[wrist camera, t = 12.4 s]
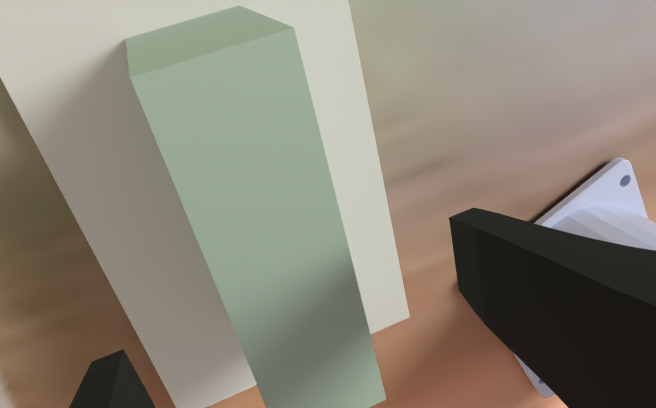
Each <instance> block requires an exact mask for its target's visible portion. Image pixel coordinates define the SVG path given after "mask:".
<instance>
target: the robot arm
mask: <svg viewBox="0 0 656 408" xmlns="http://www.w3.org/2000/svg"><path fill="white" fill-rule="evenodd" d="M449 220H450V227H451V235H452V242H453V250H454V257H455V265H456V272H457V280H458V287H459V291H460V292H461V294H462V295H463V296H464V298H465V299H466V300H467V302H468V303H469V304H470V306H471V307H472V308H473V310H474V311H475V312H476V313H477V315H478V316H479V317H480V318H481V320H482V321H483V322H484V323H485V325H486V326H487V327H488V328H489V329H490V330H491V331H492V332H493V333H494V334H495V335H496V336H497V337H498V338H499V339H500V340H501V341H502V342H503V343H504V344H505V345H506V346H507V347H508V348H509V349H510V350H511V351H512V353H513V354H514V356H515V357H516V359H517V361H518V362H519V364H520V365H521V367H522V369H523V370H524V372H525V373H526V375H527V376H528V378H529V380H530V381H531V383H532V384H533V386H534V387H535V389H536V391H537V392H538V393H539V394H540V395H541V396H542V397H544V398H547V397H550V396H552V395H553V394H556V395H557V396H558V397H559V398H560V399H561V400H562V401H563V402H564V403H565V404H566V405H567V407H568V408H656V223H655V222H653V221H651V220H649V219H648V217H647V213H646V210H645V207H644V204H643V201H642V197H641V194H640V191H639V188H638V185H637V181H636V178H635V175H634V172H633V169H632V165H631V163H630V162H629V161H628V160H625V159H623V158H615V159H614V160H612V161H611V162H609V163H608V164H607V165H606V166H604V167H603V168H602V169H601V170H599V171H598V172H597V173H596V174H594V175H593V176H592V177H591V178H589V179H588V180H587V181H586V182H584V183H583V184H582V185H581V186H579V187H578V188H577V189H576V190H574V191H573V192H572V193H571V194H569V195H568V196H567V197H566V198H564V199H563V200H562V201H561V202H559V203H558V204H557V205H556V206H554V207H553V208H552V209H551V210H549V211H548V212H547V213H546V214H544V215H543V216H542V217H541V218H539V219H538V220H537V221H536V222H534V223H530V222H527V221H523V220H520V219H516V218H513V217H509V216H505V215H502V214H498V213H494V212H490V211H486V210H482V209H477V208H472V209H469V210H467V211H464V212H462V213H459V214H457V215H454V216H452V217H449ZM69 408H156V407H155V405H154V403H153V402H152V400H151V398H150V396H149V394H148V393H147V391H146V389H145V387H144V385H143V384H142V382H141V380H140V378H139V376H138V375H137V373H136V371H135V369H134V368H133V366H132V364H131V362H130V360H129V359H128V357H127V355H126V353H125V351H124V350H120V351H118V352H115V353H113V354H110V355H108V356H106V357H103V358H101V359H98V360H96V361H93V362H92V363H91V365H90V367H89V369H88V371H87V372H86V374H85V376H84V378H83V380H82V382H81V384H80V387H79V389H78V391H77V393H76V395H75V397H74V399H73V401H72V403H71V405H70V407H69Z"/></svg>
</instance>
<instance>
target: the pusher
mask: <svg viewBox="0 0 656 408" xmlns="http://www.w3.org/2000/svg"><path fill="white" fill-rule="evenodd" d="M125 43H126V51H127V58H128V66H129V74H130V79H131V82H132V84H133V86H134V89H135V91H136V94H137V96H138V98H139V101H140V103H141V106H142V108H143V111H144V113H145V115H146V118H147V120H148V123H149V125H150V127H151V130H152V132H153V135H154V137H155V140H156V142H157V144H158V147H159V149H160V152H161V154H162V156H163V159H164V161H165V164H166V166H167V169H168V171H169V173H170V176H171V178H172V181H173V183H174V185H175V188H176V190H177V193H178V195H179V198H180V200H181V202H182V205H183V207H184V210H185V212H186V214H187V217H188V219H189V222H190V224H191V226H192V229H193V231H194V234H195V236H196V239H197V241H198V243H199V246H200V248H201V251H202V253H203V255H204V258H205V260H206V263H207V265H208V268H209V270H210V272H211V275H212V277H213V280H214V282H215V284H216V287H217V289H218V292H219V294H220V297H221V299H222V301H223V304H224V306H225V309H226V311H227V313H228V316H229V318H230V321H231V323H232V326H233V328H234V330H235V333H236V335H237V338H238V340H239V342H240V345H241V347H242V350H243V352H244V355H245V357H246V359H247V362H248V364H249V367H250V369H251V371H252V374H253V376H254V379H255V381H256V383H257V386H258V388H259V391H260V393H261V396H262V398H263V400H264V403H265V405H266V408H370V407H372V406H374V405H376V404H378V403H380V402H382V401H384V400H386V395H385V391H384V387H383V383H382V379H381V375H380V371H379V367H378V363H377V359H376V355H375V351H374V347H373V343H372V339H371V335H370V331H369V327H368V323H367V319H366V315H365V311H364V307H363V303H362V299H361V295H360V291H359V287H358V283H357V278H356V274H355V270H354V266H353V262H352V258H351V254H350V250H349V246H348V242H347V238H346V234H345V230H344V226H343V222H342V218H341V214H340V210H339V206H338V202H337V198H336V194H335V190H334V186H333V182H332V178H331V174H330V170H329V166H328V162H327V158H326V154H325V150H324V146H323V142H322V138H321V134H320V130H319V126H318V122H317V118H316V114H315V110H314V106H313V102H312V98H311V94H310V90H309V86H308V82H307V78H306V74H305V70H304V66H303V62H302V58H301V54H300V50H299V46H298V42H297V38H296V34H295V30H294V27H291V26H289V25H287V24H284V23H282V22H279V21H277V20H274V19H272V18H269V17H267V16H264V15H262V14H259V13H257V12H255V11H252V10H250V9H247V8H245V7H242V6H240V5H238V6H235V7H231V8H228V9H224V10H221V11H218V12H214V13H211V14H207V15H204V16H201V17H197V18H194V19H190V20H187V21H183V22H180V23H177V24H173V25H170V26H166V27H163V28H160V29H156V30H153V31H149V32H146V33H142V34H139V35H136V36H132V37H129V38H125Z"/></svg>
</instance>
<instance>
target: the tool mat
mask: <svg viewBox="0 0 656 408" xmlns="http://www.w3.org/2000/svg"><path fill="white" fill-rule="evenodd" d="M238 5H240V6H242V7H245V8H247V9H250V10H252V11H255V12H257V13H259V14H262V15H264V16H267V17H269V18H272V19H274V20H277V21H279V22H282V23H284V24H287V25H289V26H291V27H294V30H295V34H296V38H297V42H298V46H299V50H300V54H301V58H302V62H303V66H304V70H305V74H306V78H307V82H308V86H309V90H310V94H311V98H312V102H313V106H314V110H315V114H316V118H317V122H318V126H319V130H320V134H321V138H322V142H323V146H324V150H325V154H326V158H327V162H328V166H329V170H330V174H331V178H332V182H333V186H334V190H335V194H336V198H337V202H338V206H339V210H340V214H341V218H342V222H343V226H344V230H345V234H346V238H347V242H348V246H349V250H350V254H351V258H352V262H353V266H354V270H355V274H356V278H357V283H358V287H359V291H360V295H361V299H362V303H363V307H364V311H365V315H366V319H367V323H368V327H369V331H370V334H373V333H375V332H377V331H379V330H382V329H384V328H386V327H388V326H391V325H393V324H395V323H397V322H400V321H402V320H404V319H406V318H409V317H410V316H409V311H408V306H407V301H406V296H405V291H404V285H403V280H402V275H401V270H400V265H399V260H398V255H397V249H396V244H395V239H394V234H393V229H392V224H391V219H390V213H389V208H388V203H387V198H386V193H385V188H384V183H383V177H382V172H381V167H380V162H379V157H378V152H377V146H376V141H375V136H374V131H373V126H372V121H371V116H370V110H369V105H368V100H367V95H366V90H365V85H364V80H363V74H362V69H361V64H360V59H359V54H358V49H357V43H356V38H355V33H354V28H353V23H352V18H351V13H350V7H349V2H348V0H0V78H1V80H2V82H3V83H4V85H5V87H6V89H7V91H8V93H9V95H10V97H11V98H12V100H13V102H14V104H15V106H16V108H17V110H18V112H19V114H20V115H21V117H22V119H23V121H24V123H25V125H26V127H27V129H28V130H29V132H30V134H31V136H32V138H33V140H34V142H35V144H36V145H37V147H38V149H39V151H40V153H41V155H42V157H43V159H44V160H45V162H46V164H47V166H48V168H49V170H50V172H51V174H52V175H53V177H54V179H55V181H56V183H57V185H58V187H59V189H60V190H61V192H62V194H63V196H64V198H65V200H66V202H67V204H68V206H69V207H70V209H71V211H72V213H73V215H74V217H75V219H76V221H77V222H78V224H79V226H80V228H81V230H82V232H83V234H84V236H85V237H86V239H87V241H88V243H89V245H90V247H91V249H92V251H93V252H94V254H95V256H96V258H97V260H98V262H99V264H100V266H101V267H102V269H103V271H104V273H105V275H106V277H107V279H108V281H109V283H110V284H111V286H112V288H113V290H114V292H115V294H116V296H117V298H118V299H119V301H120V303H121V305H122V307H123V309H124V311H125V313H126V314H127V316H128V318H129V320H130V322H131V324H132V326H133V328H134V329H135V331H136V333H137V335H138V337H139V339H140V341H141V343H142V344H143V346H144V348H145V350H146V352H147V354H148V356H149V358H150V359H151V361H152V363H153V365H154V367H155V369H156V371H157V373H158V375H159V376H160V378H161V380H162V382H163V384H164V386H165V388H166V390H167V391H168V393H169V395H170V397H171V399H172V401H173V403H174V405H175V406H176V408H206V407H208V406H210V405H213V404H215V403H217V402H219V401H222V400H224V399H226V398H228V397H231V396H233V395H235V394H237V393H240V392H242V391H244V390H247V389H249V388H251V387H253V386H256V385H257V383H256V381H255V379H254V376H253V374H252V371H251V369H250V367H249V364H248V362H247V359H246V357H245V355H244V352H243V350H242V347H241V345H240V342H239V340H238V338H237V335H236V333H235V330H234V328H233V326H232V323H231V321H230V318H229V316H228V313H227V311H226V309H225V306H224V304H223V301H222V299H221V297H220V294H219V292H218V289H217V287H216V284H215V282H214V280H213V277H212V275H211V272H210V270H209V268H208V265H207V263H206V260H205V258H204V255H203V253H202V251H201V248H200V246H199V243H198V241H197V239H196V236H195V234H194V231H193V229H192V226H191V224H190V222H189V219H188V217H187V214H186V212H185V210H184V207H183V205H182V202H181V200H180V198H179V195H178V193H177V190H176V188H175V185H174V183H173V181H172V178H171V176H170V173H169V171H168V169H167V166H166V164H165V161H164V159H163V156H162V154H161V152H160V149H159V147H158V144H157V142H156V140H155V137H154V135H153V132H152V130H151V127H150V125H149V123H148V120H147V118H146V115H145V113H144V111H143V108H142V106H141V103H140V101H139V98H138V96H137V94H136V91H135V89H134V86H133V84H132V82H131V79H130V74H129V66H128V58H127V51H126V43H125V38H129V37H132V36H136V35H139V34H142V33H146V32H149V31H153V30H156V29H160V28H163V27H166V26H170V25H173V24H177V23H180V22H183V21H187V20H190V19H194V18H197V17H201V16H204V15H207V14H211V13H214V12H218V11H221V10H224V9H228V8H231V7H235V6H238Z"/></svg>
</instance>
